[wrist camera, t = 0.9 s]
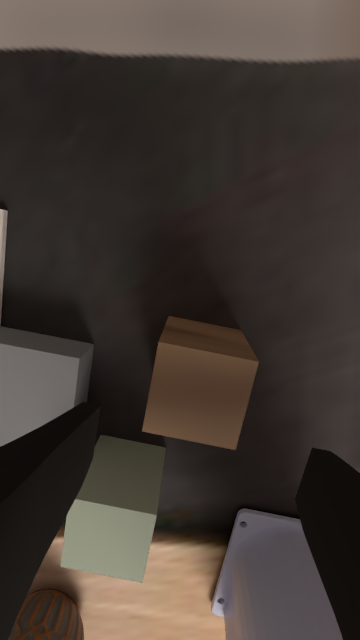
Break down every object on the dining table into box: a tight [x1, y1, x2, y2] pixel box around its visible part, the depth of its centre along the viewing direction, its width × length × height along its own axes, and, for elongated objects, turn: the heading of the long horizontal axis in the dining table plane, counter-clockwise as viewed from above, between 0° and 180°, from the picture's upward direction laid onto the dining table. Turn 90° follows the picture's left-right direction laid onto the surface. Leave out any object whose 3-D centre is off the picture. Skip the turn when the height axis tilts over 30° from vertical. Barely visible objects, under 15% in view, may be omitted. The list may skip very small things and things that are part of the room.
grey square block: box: [0, 326, 94, 446], centre depth 19 cm, size 7×7×3 cm
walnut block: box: [142, 316, 259, 450], centre depth 17 cm, size 4×4×6 cm
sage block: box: [60, 435, 166, 583], centre depth 19 cm, size 4×4×6 cm
